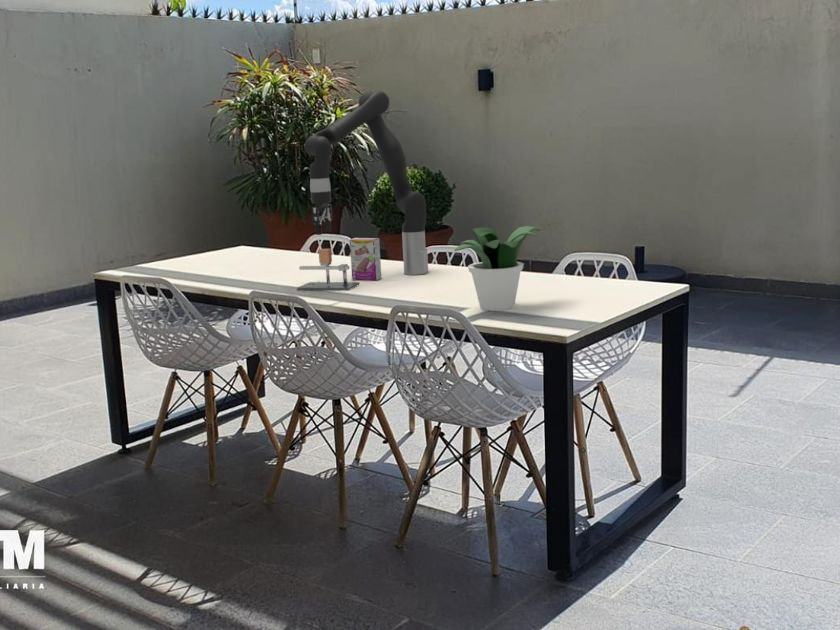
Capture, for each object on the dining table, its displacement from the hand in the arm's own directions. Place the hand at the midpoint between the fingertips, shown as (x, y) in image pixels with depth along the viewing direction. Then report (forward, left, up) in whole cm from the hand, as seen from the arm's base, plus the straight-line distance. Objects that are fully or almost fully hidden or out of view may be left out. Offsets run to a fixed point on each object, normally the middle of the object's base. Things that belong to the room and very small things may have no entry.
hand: (323, 233), depth 372 cm
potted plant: (-75, +31, -21) cm, 84 cm away
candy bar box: (-9, -19, -21) cm, 30 cm away
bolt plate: (0, -1, -21) cm, 21 cm away
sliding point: (0, 0, -19) cm, 19 cm away
